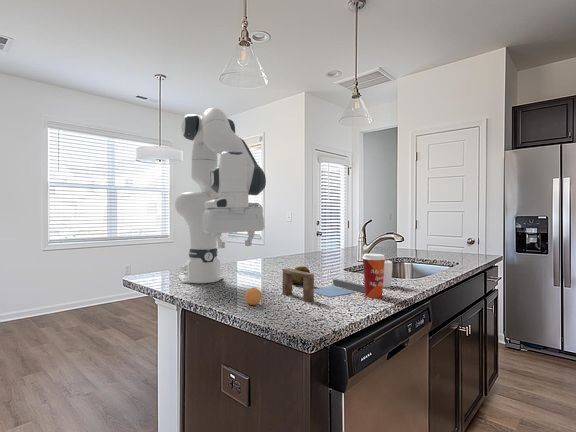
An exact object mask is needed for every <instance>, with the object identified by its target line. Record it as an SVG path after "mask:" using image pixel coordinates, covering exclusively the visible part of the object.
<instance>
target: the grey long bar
mask: <svg viewBox="0 0 576 432" xmlns="http://www.w3.org/2000/svg"><path fill="white" fill-rule="evenodd" d="M332 286H334V287H338V288H341V289H345V290H349V291H353V292H359V293H361V294H365V285H364V284H361V283H356V282H352V281H349V280H343V279H340V278H334V279H332Z"/></svg>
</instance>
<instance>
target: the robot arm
mask: <svg viewBox="0 0 576 432" xmlns="http://www.w3.org/2000/svg"><path fill="white" fill-rule="evenodd" d="M180 128H181V132H182V136H183V137H184V138H185V139H186V140H189V141H193V144H192V149H191V168H190V169H191V170H190V171H191V173H190V174H191V179H192V180H193V182H194V183H196V184H198V186H199V187H200V191H187V192H181V193H179V194H178V195H177V197H176V198H175V203H174V206H175V210H176V212H177V214H179V216H181V217H182V218H183V219H184V221H185V223H186V224H187V226H188V229H189V237H190V239H189V240H190V249H189V251H188V259H187V260H186V262H185V263H184V264H183V265H182V266H181V267H180V271H181V272H183V273H182V274H179V275H178V279H179V281H180V282H181V283H183V284H184V283H185V284H188V283H189V284H190V283H191V284H207V283H215V282H219V281H220V280H222V279H224V275H222V272H221V271H222V270H221V261H220V260H219V258H218V249H225V248H226V243H225V241H222V234H225V233H245V232H247V235H248V236H247V239H246V240H244V245H245V247H251V246H252V245H253V244H252V243H253V242H252V241H253V239H254V237H255V235H256V234H255V232H263V230H264V229H265V220H264V219H265V218H264V212H263V211H264V210H263V206H262V205H261V204H260V203H259V202H249V196H258V195H259V194H261V193H262V191H264V189H265V188H266V184H267V179H266V174H265V172H264V170H263V168H261V167H260V166H259V164H258V162H257V160H256V158H255V157H254V156H253V153H252V152H251V150H250V148H249V146H248V145H247V143H246V140H244V139H243V138H241V137H240V136H239V135H237V134H236V124H235V122H234V121H233V120H232V119H230V118H228V117H227V116H226V114H225V112H224V111H222V110H221V109H220V108H217V107H210V108H208V109H206V110H205V111H204V112H203V113H202V114H195V113H189V114H186V115H185V116H184V117H183V119H182V121H181V126H180ZM218 154H220V157H219V164H218Z"/></svg>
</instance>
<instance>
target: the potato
mask: <svg viewBox="0 0 576 432" xmlns="http://www.w3.org/2000/svg"><path fill="white" fill-rule="evenodd" d="M293 269H294V270H299V271H303V272H308V273H311V271H310V270H309V268H308V267H307V266H296V267H295V268H293ZM293 283H294V284H298V285H303V277H299V276H295V275H292V284H293Z"/></svg>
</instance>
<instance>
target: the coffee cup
mask: <svg viewBox="0 0 576 432" xmlns="http://www.w3.org/2000/svg"><path fill="white" fill-rule="evenodd" d="M362 261H363V263H362V265H363V281H364V282H363V283H364V284H363V285H365V293H364V296H365V297H367V298H370V299H380V298H381V299H382V297H383V292H384V290H383V289H384V287H383V278H384V262H385V261H386V257H385V255H384V253H382V254H381V253H364V254H363V256H362Z"/></svg>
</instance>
